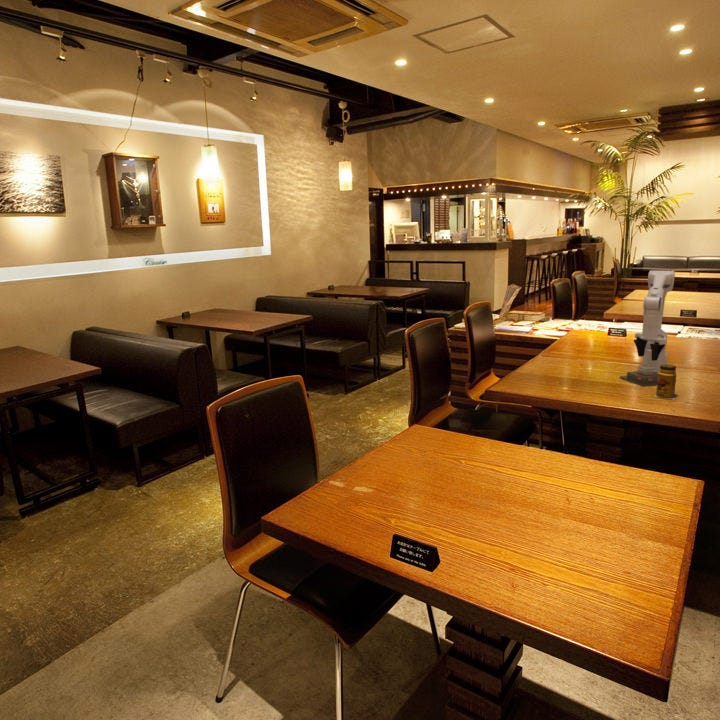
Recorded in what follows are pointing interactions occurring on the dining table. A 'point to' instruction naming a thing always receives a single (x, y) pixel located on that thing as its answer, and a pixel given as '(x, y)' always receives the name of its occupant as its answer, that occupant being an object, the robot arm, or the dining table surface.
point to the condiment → (666, 382)
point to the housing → (641, 379)
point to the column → (646, 370)
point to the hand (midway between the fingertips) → (647, 358)
